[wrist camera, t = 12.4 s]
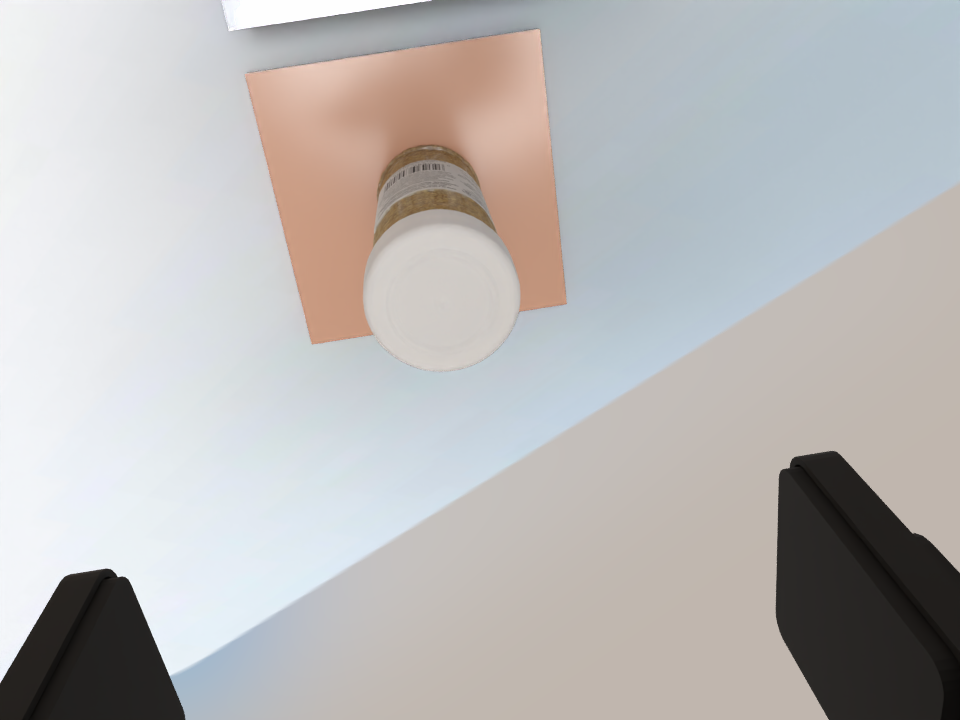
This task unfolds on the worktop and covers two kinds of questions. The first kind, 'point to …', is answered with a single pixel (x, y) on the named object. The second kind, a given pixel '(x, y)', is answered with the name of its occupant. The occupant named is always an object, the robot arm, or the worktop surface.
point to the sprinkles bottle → (437, 265)
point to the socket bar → (294, 10)
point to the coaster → (387, 133)
